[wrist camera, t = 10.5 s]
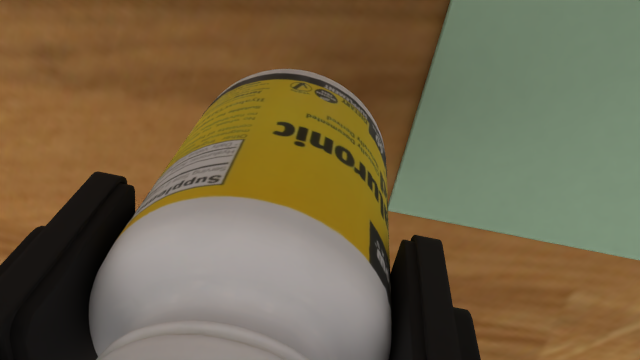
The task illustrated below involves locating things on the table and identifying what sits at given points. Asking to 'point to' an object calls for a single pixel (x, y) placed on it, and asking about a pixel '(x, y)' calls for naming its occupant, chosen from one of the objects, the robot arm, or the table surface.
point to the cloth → (531, 124)
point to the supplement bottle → (257, 235)
